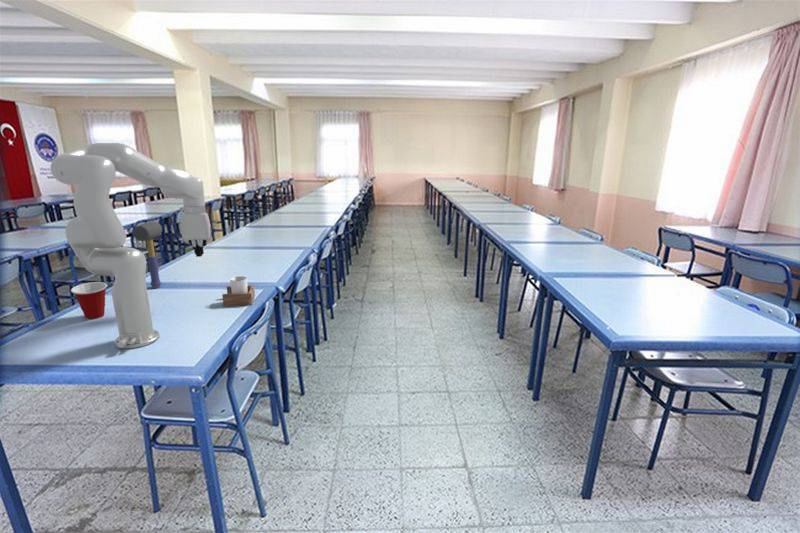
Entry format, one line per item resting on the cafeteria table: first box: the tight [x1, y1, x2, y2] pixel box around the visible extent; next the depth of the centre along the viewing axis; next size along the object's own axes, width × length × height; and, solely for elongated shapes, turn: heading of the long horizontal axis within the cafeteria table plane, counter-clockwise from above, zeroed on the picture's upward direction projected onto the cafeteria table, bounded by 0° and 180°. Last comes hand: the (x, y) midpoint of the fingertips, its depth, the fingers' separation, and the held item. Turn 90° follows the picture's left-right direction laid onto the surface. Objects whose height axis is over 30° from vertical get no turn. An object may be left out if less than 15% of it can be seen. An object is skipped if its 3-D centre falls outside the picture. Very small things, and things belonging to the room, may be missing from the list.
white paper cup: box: [229, 275, 248, 294], centre depth 172 cm, size 7×7×10 cm
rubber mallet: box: [132, 220, 163, 289], centre depth 184 cm, size 12×8×30 cm, turn 3°
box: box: [222, 284, 256, 307], centre depth 173 cm, size 11×11×5 cm
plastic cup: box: [70, 281, 108, 320], centre depth 153 cm, size 11×11×12 cm
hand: (199, 256), depth 165 cm, fingers closed
